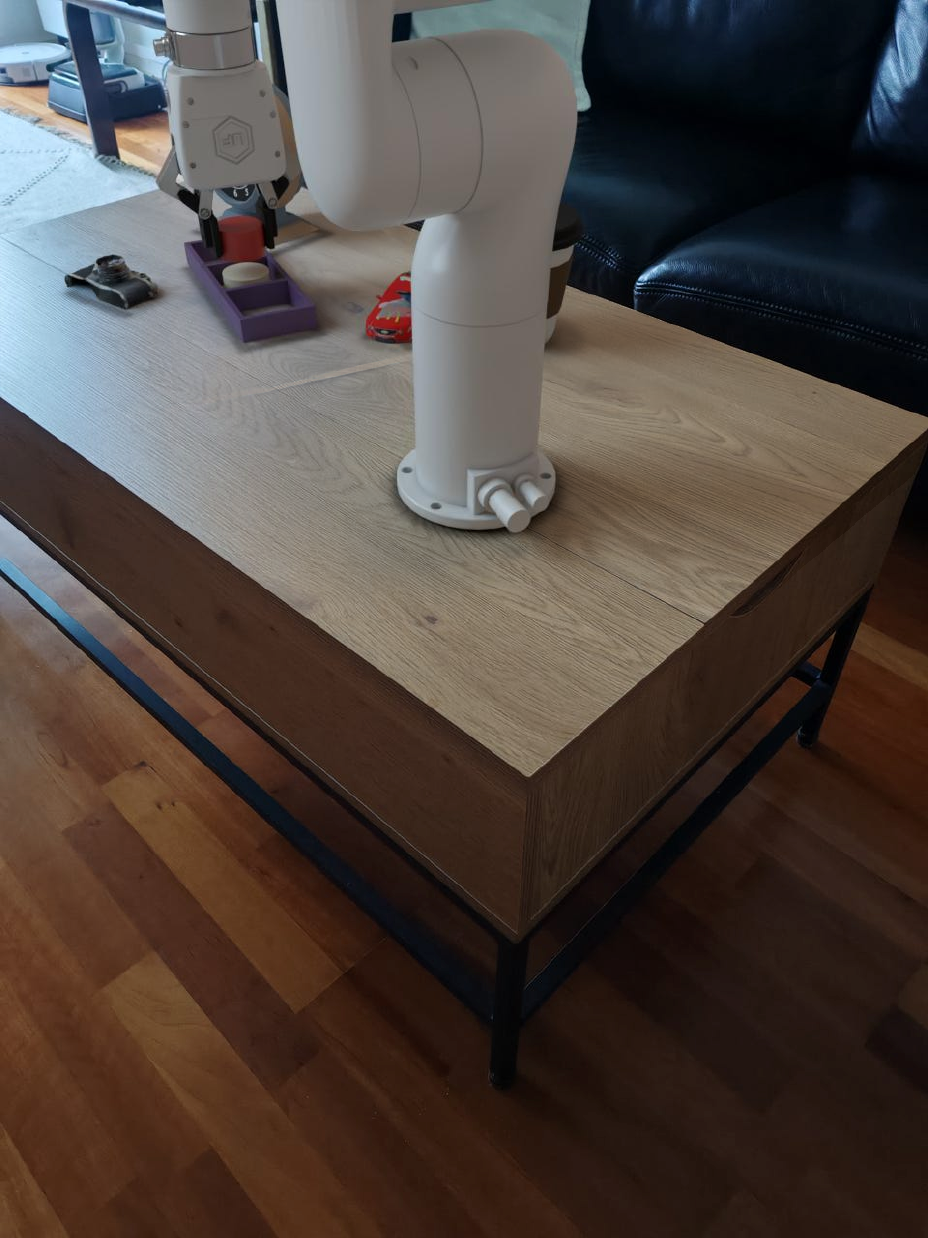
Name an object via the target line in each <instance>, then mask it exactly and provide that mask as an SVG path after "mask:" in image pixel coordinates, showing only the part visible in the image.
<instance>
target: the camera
mask: <svg viewBox="0 0 928 1238" xmlns="http://www.w3.org/2000/svg"><path fill="white" fill-rule="evenodd" d="M63 279H64V283H65V285H66V288H69V287H71V286H73V285H76V284H78V283H81V282H83V281H86V282H87V283H88V284H89V286H90V287H91V290H92V291H93V293H94V295H95V298H97V299H98V300H99V301H101V302H103V303H106V304H108V305H111V306H113V307H116V308H119V309H121V310H128V309H130V308H132V307H135V306H137V305H139V304H142V303H144V302H146V301H149V300H151V299H153V298H155V297H156V292H157V291H158V290H159V287H158V284H157V283H156V282H152V279H151V277H150V276H149V275H148V274H146V273H145V272H139V271H137V270H134V269H130V267H128V265H127V264H126V261H125V258H124V257H123V256H122V255H117V254H114V253H112V254H109V255H103V256H101V257H98V258H97V259H96V260H95V262H94V263H92V264H90V265H88V266H86V267H83V268H80V269H78V270H76V271H74V272H72V273H71V272H69V273H68V274H65V275H64V277H63Z"/></svg>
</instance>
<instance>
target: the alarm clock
mask: <svg viewBox="0 0 928 1238" xmlns="http://www.w3.org/2000/svg"><path fill="white" fill-rule="evenodd" d="M271 84H272V87H273V91H274V96H275V100H276V105H277V110H278V115H279V120H280V126H281V131H282V137H283V142H284V143H285V144H286V145H287V146H288V148H289V149H290V150H291V151H292V152H293V153H294V154H295V156H296V157H297V158H298V159H299V157H298V152H297V147H296V142H295V136H294V129H293V122H292V116H291V109H290V101H289V96H287V95H286V93H285V92H283V91H282V90H281V89H280V88H279V87H277V86H276V85H275V84H273V83H271ZM304 183H305V180H304V176H303V173H302V171H301V172H300V174H299V175H298V176H297V177H296V178H295V179H294V180H293V181H291V182H290V184H289V187H288V188H287V190H286V191H285V192H284V194H283V195H282V197H281V198H280V199H279V201H278V202H279V203H278V206H277V207H276V208H275V213H276V222H277V230H278V236H277V237H274V243H275V247H277V246H279V245H281V244H284V243H288V242H289V241H292V240H295V239H297V238H300V237H303V236H305V235H308V234H310V233H313V232H315V231H319V230H320V228H318V227H316V226H314V225H312V222H309V221H307V220H306V219H304V218H303V217H300V216H299V215H297V214H295V213H292V212H290V211H287V208H286V206H287V205H288V204H290V202H292V200H293V199H294V197H295V196H296V195H297V194H298V193H300V191H301V189H302V186H303V184H304ZM213 192H214V193H215V194H216V195H217V196H218V197H219V198H220V199H221V200H222V201H223V202H224V203H225V204H226V205H229V206H231V207H229V208H227V209H225V210H224V211H223V213H222V214H221V215H220V216H218V217H216V218H217V220H218V221H220V220H222V219H225V218H228V217H235V216H248V217H254V218H257V215H256V208H255V204H256V201H258V197H259V194H258V192H257V189H256V187H255V184H248V185H241V186H235V187H227V188H220V189H213ZM197 232H201V231H200V228H199V229H197ZM265 248H266V250H268V249H269V248H267V247H266V246H265Z"/></svg>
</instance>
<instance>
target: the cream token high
mask: <svg viewBox="0 0 928 1238" xmlns="http://www.w3.org/2000/svg"><path fill="white" fill-rule="evenodd" d="M222 274H223V280H224V285H225V286H226V287H227V288H228V289H229V288H234V287H240V286H245V285H251V284H256V283H262V282H267V281H270V280H271V279H270V275H269V269H268V267H267V266H265V265H263V264H259V263H252V262H246V263H238V264H234V265H231V266H228V267H227V268H225V269H224V270H223V273H222Z"/></svg>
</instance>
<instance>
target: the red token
mask: <svg viewBox="0 0 928 1238" xmlns="http://www.w3.org/2000/svg"><path fill="white" fill-rule="evenodd" d="M218 225H219V232H220V238H221V244H222V251H223V256H222V257H221V259H222V260H223V261H229V262H236V263H243V262H251V261H255V260H258V259H260V258H262V257H263V256H264V255H265V254H266V250H267V249H266V248H265V240H264V232H263V224H262V222H261V221H260V220H259V219H257V218H254V217H248V216H235V217H228V218H225V219H222V220H220V221H218Z"/></svg>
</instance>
